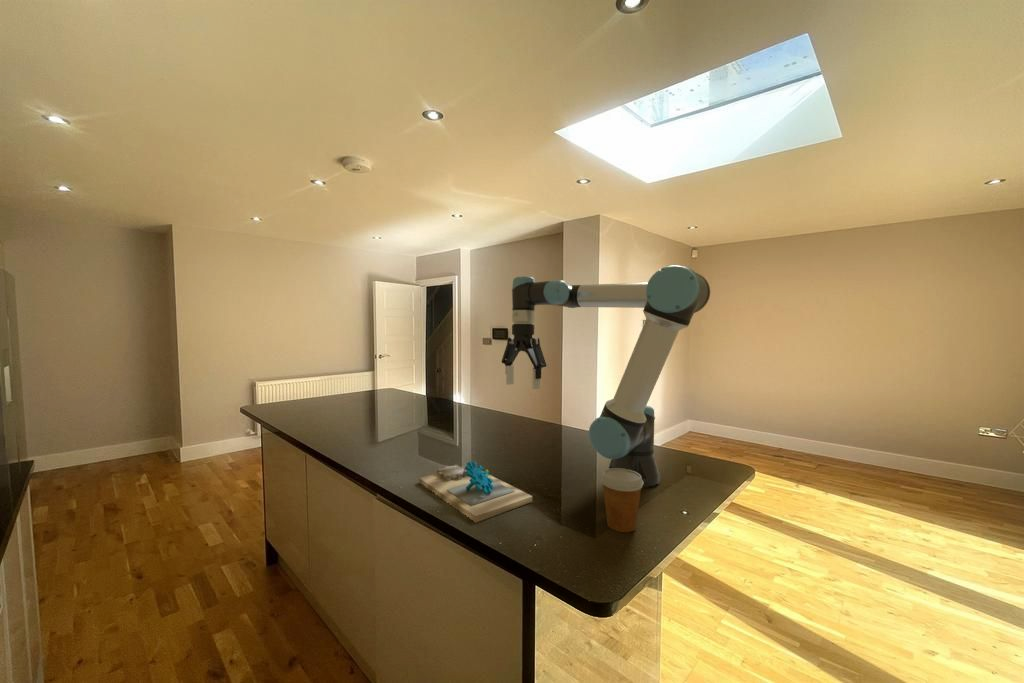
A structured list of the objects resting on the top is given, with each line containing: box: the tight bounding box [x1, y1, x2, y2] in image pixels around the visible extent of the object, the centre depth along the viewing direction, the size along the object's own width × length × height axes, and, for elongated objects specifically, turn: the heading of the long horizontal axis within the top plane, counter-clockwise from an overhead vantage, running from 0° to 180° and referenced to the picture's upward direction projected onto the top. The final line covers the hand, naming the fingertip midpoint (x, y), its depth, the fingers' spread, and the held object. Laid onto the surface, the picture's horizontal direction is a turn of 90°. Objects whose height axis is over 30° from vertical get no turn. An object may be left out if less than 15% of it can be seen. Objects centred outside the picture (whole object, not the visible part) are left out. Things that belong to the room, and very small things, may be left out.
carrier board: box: [418, 464, 533, 523], centre depth 106 cm, size 31×18×3 cm, turn 39°
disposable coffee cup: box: [600, 468, 644, 533], centre depth 88 cm, size 10×10×12 cm
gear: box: [465, 461, 494, 494], centre depth 103 cm, size 11×6×10 cm
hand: (522, 386), depth 128 cm, fingers open, 13 cm apart
